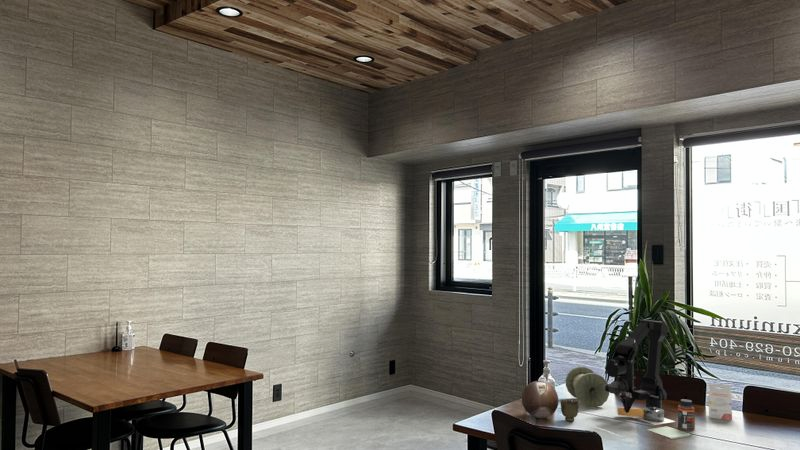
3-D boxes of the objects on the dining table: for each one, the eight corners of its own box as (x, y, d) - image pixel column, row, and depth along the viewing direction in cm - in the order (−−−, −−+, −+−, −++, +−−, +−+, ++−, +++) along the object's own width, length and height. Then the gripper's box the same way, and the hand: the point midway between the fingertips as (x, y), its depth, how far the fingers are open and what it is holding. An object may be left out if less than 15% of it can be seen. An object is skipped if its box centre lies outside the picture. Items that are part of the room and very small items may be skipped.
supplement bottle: (688, 432, 223) (687, 402, 224) (674, 428, 228) (674, 399, 229) (698, 430, 226) (697, 401, 226) (684, 426, 231) (684, 397, 232)
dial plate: (651, 415, 247) (651, 414, 247) (676, 422, 236) (675, 421, 236) (631, 418, 242) (631, 417, 242) (655, 426, 231) (655, 424, 231)
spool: (609, 407, 258) (609, 374, 259) (575, 407, 258) (575, 373, 259) (597, 398, 275) (597, 366, 275) (565, 398, 275) (565, 366, 276)
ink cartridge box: (731, 418, 243) (731, 383, 244) (732, 421, 239) (731, 385, 240) (708, 415, 247) (708, 381, 248) (708, 418, 243) (708, 383, 244)
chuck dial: (661, 417, 242) (661, 405, 242) (666, 422, 234) (665, 410, 234) (616, 414, 246) (616, 402, 246) (619, 419, 238) (619, 407, 238)
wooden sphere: (530, 423, 232) (530, 385, 233) (515, 413, 247) (516, 378, 248) (565, 421, 235) (565, 384, 236) (548, 411, 250) (548, 376, 251)
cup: (580, 424, 232) (580, 404, 232) (561, 423, 234) (561, 403, 234) (578, 419, 239) (578, 399, 240) (559, 417, 241) (559, 398, 241)
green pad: (666, 427, 229) (666, 426, 229) (691, 435, 219) (691, 434, 219) (646, 431, 224) (646, 429, 224) (670, 439, 214) (670, 437, 214)
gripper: (595, 372, 245) (595, 409, 244) (629, 380, 228) (630, 420, 227) (614, 370, 250) (615, 406, 249) (650, 377, 233) (650, 417, 232)
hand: (627, 412), depth 239 cm, fingers closed
